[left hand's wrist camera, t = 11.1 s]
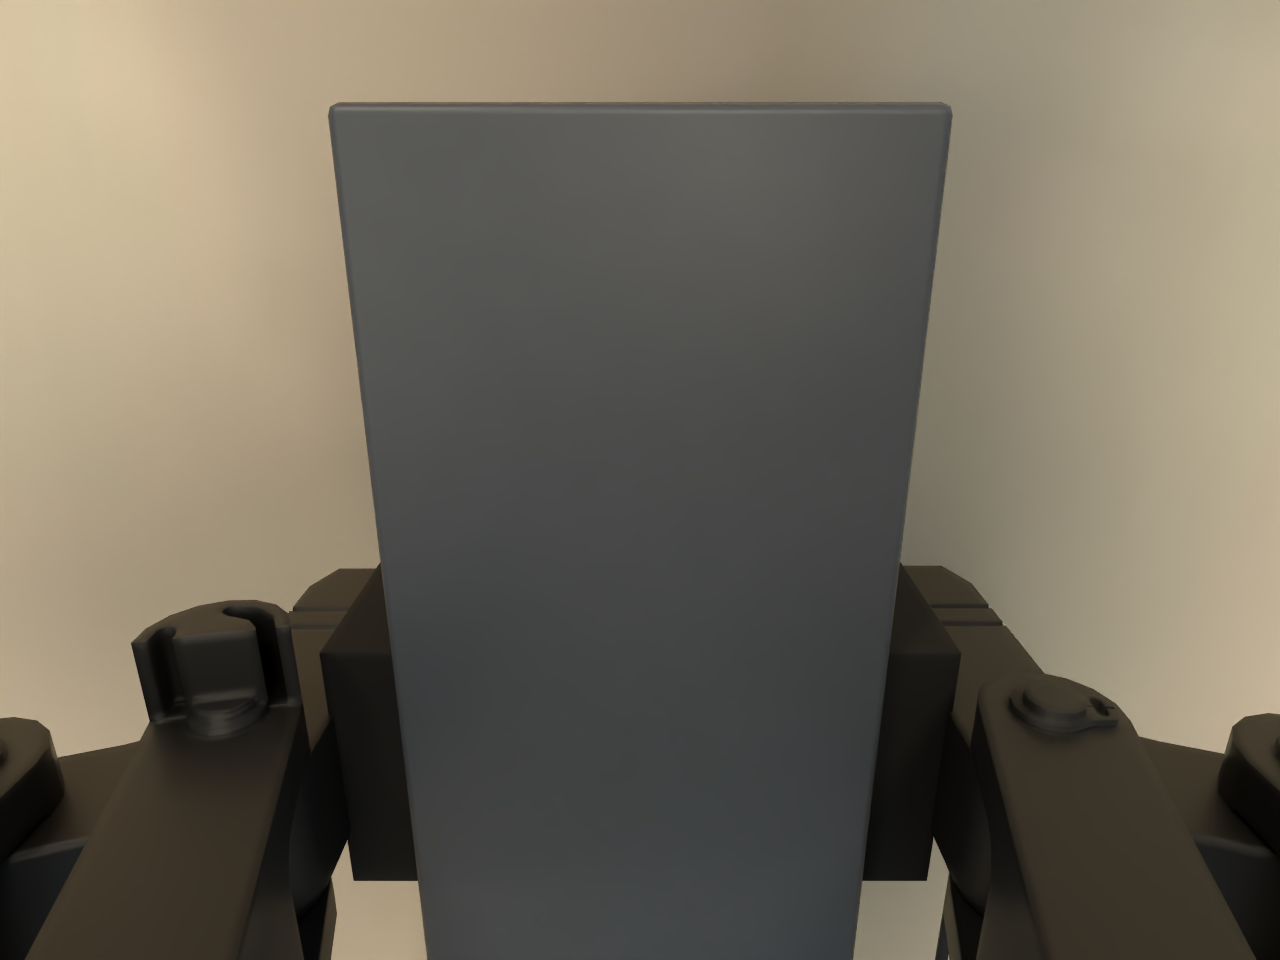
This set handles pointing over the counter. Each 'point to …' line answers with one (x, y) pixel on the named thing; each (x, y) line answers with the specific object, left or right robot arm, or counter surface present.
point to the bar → (640, 503)
